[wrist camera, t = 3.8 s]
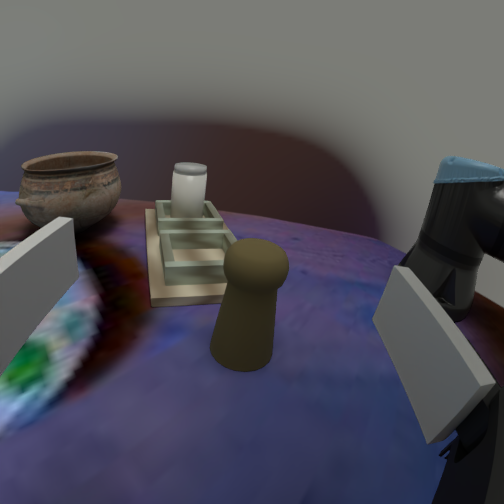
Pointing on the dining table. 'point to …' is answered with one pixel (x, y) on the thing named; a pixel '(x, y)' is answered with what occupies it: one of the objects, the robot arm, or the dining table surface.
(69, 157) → the cooking pot
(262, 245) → the pepper mill
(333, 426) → the dining table surface
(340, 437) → the dining table surface
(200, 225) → the condiment caddy
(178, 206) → the salt shaker
